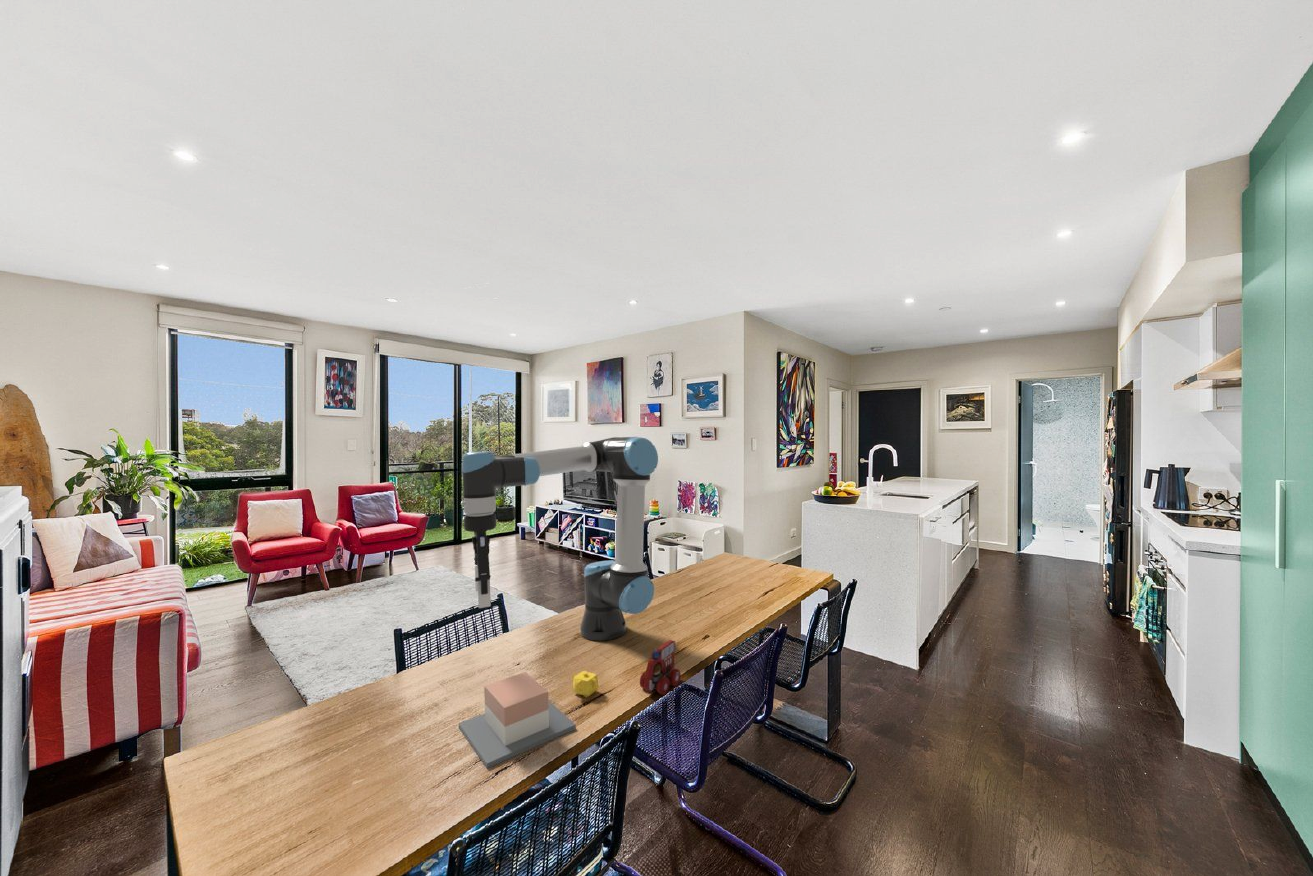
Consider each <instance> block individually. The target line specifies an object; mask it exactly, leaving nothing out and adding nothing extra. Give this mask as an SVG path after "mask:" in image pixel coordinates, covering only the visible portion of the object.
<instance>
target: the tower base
mask: <svg viewBox="0 0 1313 876" xmlns="http://www.w3.org/2000/svg"><path fill="white" fill-rule="evenodd" d="M483 687H484V688H483V689H484V691H483V693H484V695H483V696H484V713H482V714H479V715H477V716H474V717H472V718H469V719H467V720H466V719H465V720H463V721H460V722H458V728H459V730H460V732H461V733H462V734H463V736H464V737H465V739H466V740H467V741H468V744H469V745H470V747H471V748H472V749H473V751H474V752H475V754H476V755H477V756H478V758H479V759H480V761H481V762H482V764H483V765H484V766H485V768H486V769H489V768H491V767H494V766H495V765H498V764H500V763H503V762H505V761H506V760H509V759H511V758H514V757H517V756H519V755H521V754H523V753H525V752H528V751H529V750H531V749H535V748H537V747H539V746H542V745H543V744H545V743H547V742H549V741H552V740H554V739H557V738H559V737H560V736H563V735H565V734H567V733H571V732H573V731H575V730H576V728H577V727H576V726H577V724H576V723H574V722H573V720H571V719H570V718H569V717H568V716H567V715H566V714H564V713H563V712H562V711H561V710H560V709H559V708H558V707H557V706H556V705H555V704H553V703H552V702H551V701H550V700H549V691H548V689H546V688H545V687H543V685H541V684H540V683H539V682H538V681H537V680H536V679H534V677H532V676H531V675H530V673H527V671H524V672H521V673H518V674H515V675H512V676H510V677H509V676H508V677H506V678H503V679H500V680H497V681H494V682H491V683H489V684H486V685H484V686H483Z"/></svg>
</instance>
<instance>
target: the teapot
mask: <svg viewBox="0 0 1313 876" xmlns="http://www.w3.org/2000/svg"><path fill="white" fill-rule="evenodd" d="M571 676H572V678H573V681H572V683H573V685H572V688H573V690H572V691H573V693H576V695H577V696H580V695H581V696H583V697H584V698H588V697H590V696H591V695H593V694H595V692H596V691H598V690H599V680H598V675H597V674H596V673H593V672H590V671H587V670H582V671H581V672H579V673H578V674H576V673H572V674H571Z"/></svg>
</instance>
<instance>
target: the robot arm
mask: <svg viewBox="0 0 1313 876" xmlns="http://www.w3.org/2000/svg"><path fill="white" fill-rule="evenodd" d="M461 463H462V464H461V473H462V474H461V475H462V491H463V492H462V493H463V496H462V497H463V501H461V502H460V505H461V506H463V513H464V514H465V515H464V517H463V524H464V525H463V527H464V528H463V529H464V531H466V532H471V533H472V532H473V535H474V536H472V537H471V541H472V547H473V552H474V557H473V559H474V565H475V566H474V582H475V592H477V599H478V600H477V601H478V603H477V605H478V609H483V608H489V607H491V605H492V604H491V603H492V602H491V599H492V598H491V577H492V575H491V572H490V571H491V570H490V557H489V556H490V544H491V543H490V542H491V540H490V535H489V534H487V532H488V531H492V530H494V529H496V527H497V514H496V513H495V511H496V510H497V505H496V500H497V499H496V489H500V488H508V487H509V488H511V487H521V486H522V487H523V486H524V487H526V486H528V485H534V484H536V483H537V482H538V481H539V478H540V477H544V476H551V475H557V474H558V475H560V474H564V473H570V472H571V473H572V472H579V471H585V472H588V473H592V472H605V473H608V472H609V473H613V474H612V478H613V479H612V480H613V481H614V482H615V483H616V484H617V497H616V498H617V501H616V502H617V503H616V529H615V556H614V557H615V560H612V559H610V560H601V561H594V562H591V563H589V564H587V565H586V566H585V567H584V574H583V578H584V605H585V606H584V613H583V617H582V620H581V624H580V626H579V627H580V632H579V633H580V635H581V636H582V638H584V639H587V640H590V641H599V642H600V641H610V640H614V639H617V638H620V637H621V636H624V634H625V633H626V631H627V623H626V620H625V617H624V613H625V614H627V613H628V614H631V615H637V614H641V613H642V612H644V611H645V610H646V609H647V608H648V606H650V605H651V603H652V601H653V598H654V595H655V585H654V582H653V581H652V580H651V578H650V577H648V566H647V565H646V564H645V563H644V561H643V560H644V530H645V529H644V528H645V502H646V501H645V498H646V496H645V494H646V492H645V491H646V485H647V484H648V483H649V482H650V481H651V475H652V474H653V473H654V472H655V469H657V467H658V463H659V454H658V451H657V448H656V446H655V445H654V444H653V442H652V441H651V440H650V439H648V438H646V437H640V436H625V437H623V436H622V437H616V436H615V437H610V438H609V437H608V438H604V439H601V440H596V441H595V440H594V441H591V442H590V441H589V442H584V443H583V444H582V445H581V446H574V447H573V446H572V447H564V448H556V449H548V450H538V451H530V452H522V453H514V454H513V453H512V454H505V455H496V456H495V453H494V452H492V451H471V452H470V451H468V452H465V453H464V454H463V455H462V462H461Z"/></svg>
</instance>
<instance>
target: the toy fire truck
mask: <svg viewBox="0 0 1313 876" xmlns="http://www.w3.org/2000/svg"><path fill="white" fill-rule="evenodd" d="M675 650H676V642H675V640H672V639H669V640H668V641H666V642H665V643H663V644H662V645H660V646H658V647H657V649H655V650H653V651H652V652H651V655H650V656H651V658H649V659H648V662H647V666H646V669H645V670H644V671H643V672H642V674H641V675H640V678H639V685H640V687H641V688H642V689H644V690H645V691H647V692H650V693H651V692H652V691H653V690H654V689H656V691H657V693H658V694H660V695H663V696H664V695H666V694H667V693H668V691H669V689H670V686H672V687H676V686H677V685H679V684H680V680H681V675H682V674H681V671H680V669H677V668H675Z"/></svg>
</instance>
